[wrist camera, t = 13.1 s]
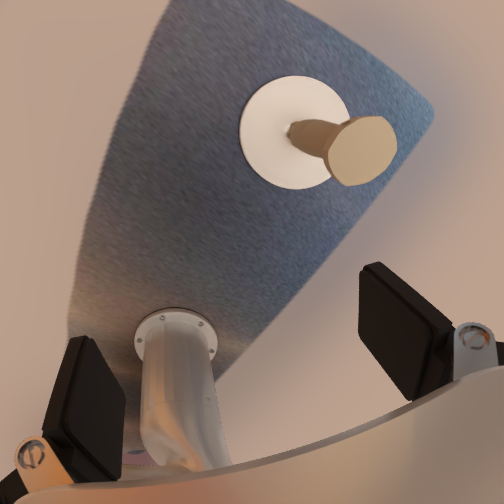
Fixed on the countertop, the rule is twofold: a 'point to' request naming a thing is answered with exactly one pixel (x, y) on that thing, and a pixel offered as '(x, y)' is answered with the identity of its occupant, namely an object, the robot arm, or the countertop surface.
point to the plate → (287, 129)
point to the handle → (347, 146)
